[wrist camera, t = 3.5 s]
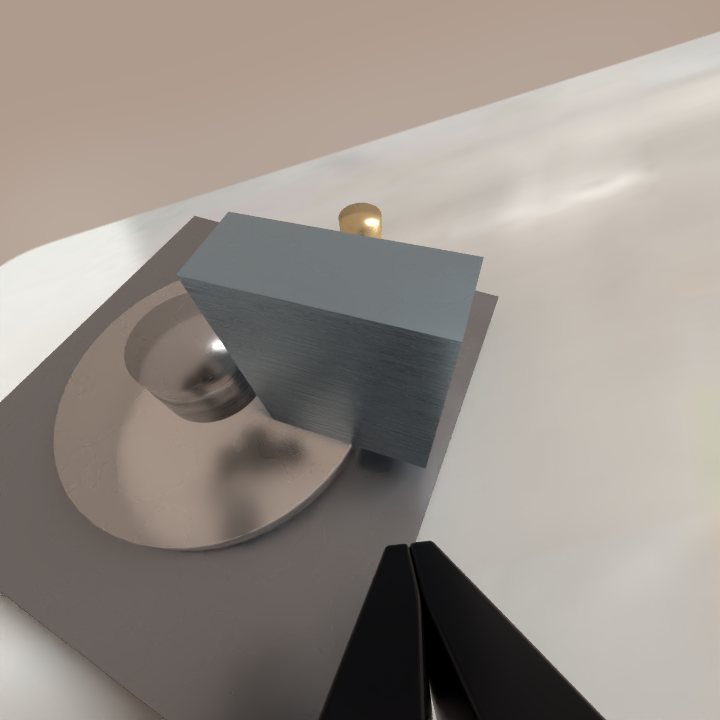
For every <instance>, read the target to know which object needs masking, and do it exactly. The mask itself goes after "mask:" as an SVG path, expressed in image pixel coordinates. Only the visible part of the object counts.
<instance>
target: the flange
mask: <svg viewBox="0 0 720 720" xmlns="http://www.w3.org/2000/svg"><path fill="white" fill-rule="evenodd" d="M482 261H483V257H480V256H474V255H468V254H463V253H457V252H452V251H446V250H440V249H435V248H429V247H423V246H418V245H412V244H407V243H401V242H395V241H390V240H384V239H378V238H373V237H367V236H362V235H356V234H350V233H345V232H339V231H333V230H328V229H322V228H317V227H311V226H305V225H300V224H294V223H288V222H283V221H277V220H272V219H266V218H260V217H255V216H249V215H244V214H238V213H232V212H228V213H227V214H226V216H225V217H224V218H223V219H222V220H221V221H220V223H219V224H218V225H217V226H216V227H215V229H214V230H213V231H212V232H211V233H210V235H209V236H208V237H207V238H206V239H205V241H204V242H203V243H202V244H201V245H200V247H199V248H198V249H197V250H196V251H195V253H194V254H193V255H192V256H191V257H190V259H189V260H188V261H187V262H186V263H185V265H184V266H183V267H182V268H181V269H180V271H179V272H178V273H177V274H176V276H177V277H178V279H179V281H176V282H174V283H171V284H169V285H167V286H165V287H163V288H161V289H159V290H157V291H155V292H154V293H152V294H150V295H149V296H147V297H145V298H144V299H142V300H141V301H139V302H138V303H136V304H135V305H133V306H132V307H131V308H129V309H128V310H127V311H125V312H124V313H123V314H122V315H121V316H119V317H118V318H117V319H116V320H115V321H114V322H112V323H111V324H110V325H109V326H108V327H107V328H106V329H105V330H104V331H103V332H102V333H101V334H100V336H99V337H98V338H97V339H96V340H95V341H94V342H93V344H92V345H91V346H90V347H89V349H88V350H87V351H86V352H85V354H84V355H83V357H82V358H81V360H80V362H79V363H78V365H77V366H76V368H75V369H74V371H73V373H72V375H71V377H70V379H69V381H68V383H67V385H66V387H65V390H64V393H63V395H62V398H61V401H60V403H59V407H58V412H57V416H56V421H55V429H54V441H53V443H54V455H55V463H56V466H57V470H58V474H59V478H60V480H61V482H62V485H63V487H64V489H65V491H66V493H67V495H68V497H69V498H70V499H71V501H72V502H73V503H74V505H75V506H76V507H77V509H78V510H79V511H80V512H81V513H82V514H83V515H84V516H85V517H86V518H88V519H89V520H90V521H91V522H92V523H93V524H94V525H96V526H97V527H99V528H101V529H103V530H104V531H106V532H108V533H109V534H111V535H113V536H115V537H118V538H121V539H124V540H126V541H129V542H132V543H135V544H140V545H145V546H151V547H156V548H162V549H168V550H174V551H202V550H209V549H216V548H223V547H227V546H230V545H234V544H237V543H241V542H244V541H248V540H250V539H252V538H255V537H257V536H259V535H262V534H264V533H266V532H269V531H271V530H272V529H274V528H276V527H278V526H279V525H281V524H283V523H284V522H286V521H288V520H290V519H291V518H293V517H294V516H295V515H297V514H298V513H299V512H301V511H302V510H303V509H305V508H306V507H307V506H308V505H310V504H311V503H312V502H313V501H314V500H315V499H316V498H317V497H318V496H319V495H320V494H321V493H322V492H324V491H325V490H326V489H327V488H328V487H329V486H330V484H331V483H332V482H333V481H334V479H335V478H336V477H337V476H338V474H339V473H340V472H341V471H342V469H343V468H344V467H345V465H346V463H347V462H348V460H349V458H350V457H351V455H352V453H353V452H354V450H355V449H356V446H357V447H360V448H363V449H366V450H369V451H372V452H375V453H378V454H382V455H385V456H388V457H391V458H394V459H397V460H400V461H403V462H406V463H409V464H412V465H416V466H419V467H422V468H425V469H426V466H427V462H428V459H429V455H430V452H431V448H432V445H433V441H434V438H435V434H436V431H437V427H438V424H439V421H440V417H441V414H442V410H443V407H444V403H445V400H446V396H447V393H448V389H449V386H450V382H451V379H452V375H453V372H454V369H455V365H456V362H457V358H458V355H459V351H460V348H461V344H462V341H463V337H464V333H465V329H466V325H467V321H468V317H469V313H470V309H471V305H472V301H473V297H474V293H475V289H476V285H477V281H478V277H479V273H480V269H481V265H482Z"/></svg>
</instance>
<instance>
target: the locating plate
mask: <svg viewBox="0 0 720 720" xmlns="http://www.w3.org/2000/svg"><path fill="white" fill-rule="evenodd" d="M218 224H219V222H215V221H212V220H208V219H204V218H200V217H197V216H194V217H193V218H192V219H191V220H190V221H189V222H188V223H187V224H186V225H185V226H184V227H183V228H182V229H181V230H180V231H179V232H178V233H177V234H176V235H174V236H173V237H172V238H171V239H170V240H169V241H168V242H167V243H166V244H165V245H164V246H163V247H162V248H161V249H160V250H159V251H158V252H157V253H156V254H155V255H154V256H153V257H152V258H151V259H149V260H148V261H147V262H146V263H145V264H144V265H143V266H142V267H141V268H140V269H139V270H138V271H137V272H136V273H135V274H134V275H133V276H132V277H131V278H130V279H129V280H128V281H127V282H125V283H124V284H123V285H122V286H121V287H120V288H119V289H118V290H117V291H116V292H115V293H114V294H113V295H112V296H111V297H110V298H109V299H108V300H107V301H106V302H105V303H104V304H103V305H101V306H100V307H99V308H98V309H97V310H96V311H95V312H94V313H93V314H92V315H91V316H90V317H89V318H88V319H87V320H86V321H85V322H84V323H83V324H82V325H81V326H80V327H79V328H77V329H76V330H75V331H74V332H73V333H72V334H71V335H70V336H69V337H68V338H67V339H66V340H65V341H64V342H63V343H62V344H61V345H60V346H59V347H58V348H57V349H56V350H55V351H53V352H52V353H51V354H50V355H49V356H48V357H47V358H46V359H45V360H44V361H43V362H42V363H41V364H40V365H39V366H38V367H37V368H36V369H35V370H34V371H33V372H32V373H31V374H29V375H28V376H27V377H26V378H25V379H24V380H23V381H22V382H21V383H20V384H19V385H18V386H17V387H16V388H15V389H14V390H13V391H12V392H11V393H10V394H9V395H8V396H7V397H5V398H4V399H3V400H2V401H1V402H0V592H2V593H3V594H4V595H6V596H7V597H8V598H9V599H11V600H12V601H13V602H15V603H16V604H17V605H18V606H20V607H21V608H22V609H24V610H25V611H26V612H28V613H29V614H30V615H31V616H33V617H34V618H35V619H37V620H38V621H39V622H40V623H42V624H43V625H44V626H46V627H47V628H48V629H49V630H51V631H52V632H53V633H55V634H56V635H57V636H59V637H60V638H61V639H62V640H64V641H65V642H66V643H68V644H69V645H70V646H71V647H73V648H74V649H75V650H77V651H78V652H79V653H80V654H82V655H83V656H84V657H86V658H87V659H88V660H89V661H91V662H92V663H93V664H95V665H96V666H97V667H99V668H100V669H101V670H102V671H104V672H105V673H106V674H108V675H109V676H110V677H111V678H113V679H114V680H115V681H117V682H118V683H119V684H120V685H122V686H123V687H124V688H126V689H127V690H128V691H130V692H131V693H132V694H133V695H135V696H136V697H137V698H139V699H140V700H141V701H142V702H144V703H145V704H146V705H148V706H149V707H150V708H151V709H153V710H154V711H155V712H157V713H158V714H159V715H161V716H162V717H163V718H164V719H166V720H318V717H319V714H320V712H321V709H322V707H323V704H324V702H325V699H326V697H327V694H328V692H329V689H330V686H331V684H332V681H333V679H334V676H335V674H336V671H337V669H338V666H339V664H340V661H341V658H342V656H343V653H344V651H345V648H346V646H347V643H348V641H349V638H350V636H351V633H352V630H353V628H354V625H355V623H356V620H357V618H358V615H359V613H360V610H361V608H362V605H363V602H364V600H365V597H366V595H367V592H368V590H369V587H370V585H371V582H372V580H373V577H374V574H375V572H376V569H377V567H378V564H379V562H380V559H381V557H382V554H383V552H384V549H385V547H386V546H388V545H396V544H407V545H408V546H409V548H410V544H411V543H415V542H416V539H417V536H418V533H419V530H420V527H421V524H422V521H423V518H424V515H425V512H426V509H427V506H428V503H429V500H430V497H431V494H432V491H433V489H434V486H435V483H436V480H437V477H438V474H439V471H440V468H441V465H442V462H443V459H444V456H445V453H446V450H447V447H448V444H449V441H450V438H451V435H452V433H453V430H454V427H455V424H456V421H457V418H458V415H459V412H460V409H461V406H462V403H463V400H464V397H465V394H466V391H467V388H468V385H469V382H470V379H471V377H472V374H473V371H474V368H475V365H476V362H477V359H478V356H479V353H480V350H481V347H482V344H483V341H484V338H485V335H486V332H487V329H488V326H489V324H490V321H491V318H492V315H493V312H494V309H495V306H496V303H497V300H498V296H494V295H490V294H486V293H483V292H479V291H475V293H474V297H473V301H472V305H471V309H470V313H469V317H468V321H467V325H466V329H465V333H464V337H463V341H462V344H461V348H460V351H459V355H458V358H457V362H456V365H455V369H454V372H453V375H452V379H451V382H450V386H449V389H448V393H447V396H446V400H445V403H444V407H443V410H442V414H441V417H440V421H439V424H438V427H437V431H436V434H435V438H434V441H433V445H432V448H431V452H430V455H429V459H428V462H427V466H426V469H425V468H422V467H419V466H416V465H412V464H409V463H406V462H403V461H400V460H397V459H394V458H391V457H388V456H385V455H382V454H378V453H375V452H372V451H369V450H366V449H363V448H360V447H357V446H356V449H355V450H354V452H353V453H352V455H351V457H350V458H349V460H348V462H347V463H346V465H345V467H344V468H343V469H342V471H341V472H340V473H339V474H338V476H337V477H336V478H335V479H334V481H333V482H332V483H331V484H330V486H329V487H328V488H327V489H326V490H325V491H324V492H322V493H321V494H320V495H319V496H318V497H317V498H316V499H315V500H314V501H313V502H312V503H311V504H310V505H308V506H307V507H306V508H305V509H303V510H302V511H301V512H299V513H298V514H297V515H295V516H294V517H293V518H291V519H290V520H288V521H286V522H284V523H283V524H281V525H279V526H278V527H276V528H274V529H272V530H271V531H269V532H266V533H264V534H262V535H259V536H257V537H255V538H252V539H250V540H248V541H244V542H241V543H237V544H234V545H230V546H227V547H223V548H216V549H209V550H202V551H174V550H168V549H162V548H156V547H151V546H145V545H140V544H135V543H132V542H129V541H126V540H124V539H121V538H118V537H115V536H113V535H111V534H109V533H108V532H106V531H104V530H103V529H101V528H99V527H97V526H96V525H94V524H93V523H92V522H91V521H90V520H89V519H88V518H86V517H85V516H84V515H83V514H82V513H81V512H80V511H79V510H78V509H77V507H76V506H75V505H74V503H73V502H72V501H71V499H70V498H69V497H68V495H67V493H66V491H65V489H64V487H63V485H62V482H61V480H60V478H59V474H58V470H57V466H56V463H55V455H54V443H53V441H54V429H55V421H56V416H57V412H58V407H59V403H60V401H61V398H62V395H63V393H64V390H65V387H66V385H67V383H68V381H69V379H70V377H71V375H72V373H73V371H74V369H75V368H76V366H77V365H78V363H79V362H80V360H81V358H82V357H83V355H84V354H85V352H86V351H87V350H88V349H89V347H90V346H91V345H92V344H93V342H94V341H95V340H96V339H97V338H98V337H99V336H100V334H101V333H102V332H103V331H104V330H105V329H106V328H107V327H108V326H109V325H110V324H111V323H112V322H114V321H115V320H116V319H117V318H118V317H119V316H121V315H122V314H123V313H124V312H125V311H127V310H128V309H129V308H131V307H132V306H133V305H135V304H136V303H138V302H139V301H141V300H142V299H144V298H145V297H147V296H149V295H150V294H152V293H154V292H155V291H157V290H159V289H161V288H163V287H165V286H167V285H169V284H171V283H174V282H176V281H179V279H178V277H177V276H176V274H177V273H178V272H179V271H180V269H181V268H182V267H183V266H184V265H185V263H186V262H187V261H188V260H189V259H190V257H191V256H192V255H193V254H194V253H195V251H196V250H197V249H198V248H199V247H200V245H201V244H202V243H203V242H204V241H205V239H206V238H207V237H208V236H209V235H210V233H211V232H212V231H213V230H214V229H215V227H216V226H217V225H218ZM339 225H340V232H345V233H350V234H356V235H362V236H367V237H373V238H378V239H382V224H381V212H380V210H379V209H378V208H377V207H376V206H374V205H371V204H368V203H356V204H352V205H349V206H347V207H346V208H344V209H343V210H342V211H341V212H340V214H339Z"/></svg>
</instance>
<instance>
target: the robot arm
mask: <svg viewBox="0 0 720 720" xmlns="http://www.w3.org/2000/svg"><path fill="white" fill-rule="evenodd" d="M430 691H431V695H430ZM431 696H432V701H433V705H434V709H435V713H436V718H437V720H606V719H605V718H604V717H603V716H602V715H601V714H600V713H599V712H598V711H597V710H596V709H595V708H594V707H593V706H592V705H591V704H590V703H589V702H588V701H587V700H586V699H585V698H584V697H583V696H582V695H581V694H580V692H579V691H578V690H577V689H576V688H575V687H574V686H573V685H572V684H571V683H570V682H569V681H568V680H567V679H566V678H565V677H564V676H563V675H562V674H561V673H560V672H559V671H558V670H557V669H556V668H555V667H554V666H553V665H552V664H551V663H550V662H549V661H548V660H547V658H546V657H545V656H544V655H543V654H542V653H541V652H540V651H539V650H538V649H537V648H536V647H535V646H534V645H533V644H532V643H531V642H530V641H529V640H528V639H527V638H526V637H525V636H524V635H523V634H522V633H521V632H520V631H519V630H518V629H517V628H516V627H515V626H514V624H513V623H512V622H511V621H510V620H509V619H508V618H507V617H506V616H505V615H504V614H503V613H502V612H501V611H500V610H499V609H498V608H497V607H496V606H495V605H494V604H493V603H492V602H491V601H490V600H489V599H488V598H487V597H486V596H485V595H484V594H483V593H482V592H481V591H480V589H479V588H478V587H477V586H476V585H475V584H474V583H473V582H472V581H471V580H470V579H469V578H468V577H467V576H466V575H465V574H464V573H463V572H462V571H461V570H460V569H459V568H458V567H457V566H456V565H455V564H454V563H453V562H452V561H451V560H450V559H449V558H448V557H447V555H446V554H445V553H444V552H443V551H442V550H441V549H440V548H439V547H438V546H437V545H436V544H435V543H434V542H432V541H424V542H415V543H411V544H410V548H409V546H408V545H407V544H396V545H388V546H386V547H385V549H384V552H383V554H382V557H381V559H380V562H379V564H378V567H377V569H376V572H375V574H374V577H373V580H372V582H371V585H370V587H369V590H368V592H367V595H366V597H365V600H364V602H363V605H362V608H361V610H360V613H359V615H358V618H357V620H356V623H355V625H354V628H353V630H352V633H351V636H350V638H349V641H348V643H347V646H346V648H345V651H344V653H343V656H342V658H341V661H340V664H339V666H338V669H337V671H336V674H335V676H334V679H333V681H332V684H331V686H330V689H329V692H328V694H327V697H326V699H325V702H324V704H323V707H322V709H321V712H320V714H319V717H318V720H433V717H432V706H431Z"/></svg>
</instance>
